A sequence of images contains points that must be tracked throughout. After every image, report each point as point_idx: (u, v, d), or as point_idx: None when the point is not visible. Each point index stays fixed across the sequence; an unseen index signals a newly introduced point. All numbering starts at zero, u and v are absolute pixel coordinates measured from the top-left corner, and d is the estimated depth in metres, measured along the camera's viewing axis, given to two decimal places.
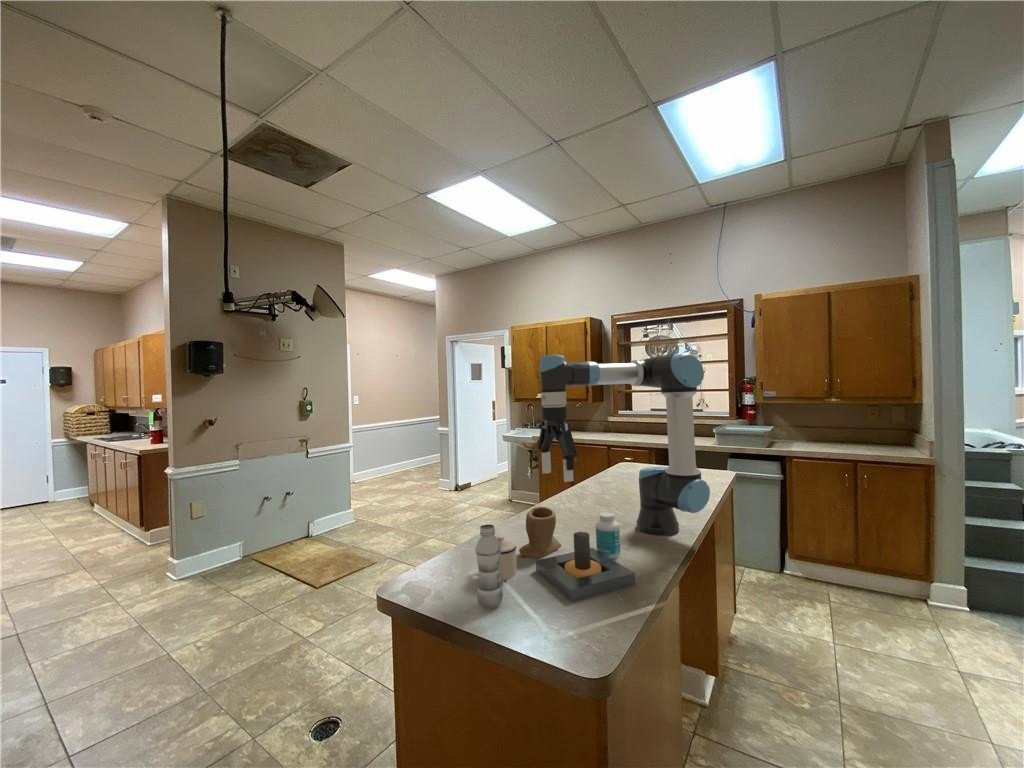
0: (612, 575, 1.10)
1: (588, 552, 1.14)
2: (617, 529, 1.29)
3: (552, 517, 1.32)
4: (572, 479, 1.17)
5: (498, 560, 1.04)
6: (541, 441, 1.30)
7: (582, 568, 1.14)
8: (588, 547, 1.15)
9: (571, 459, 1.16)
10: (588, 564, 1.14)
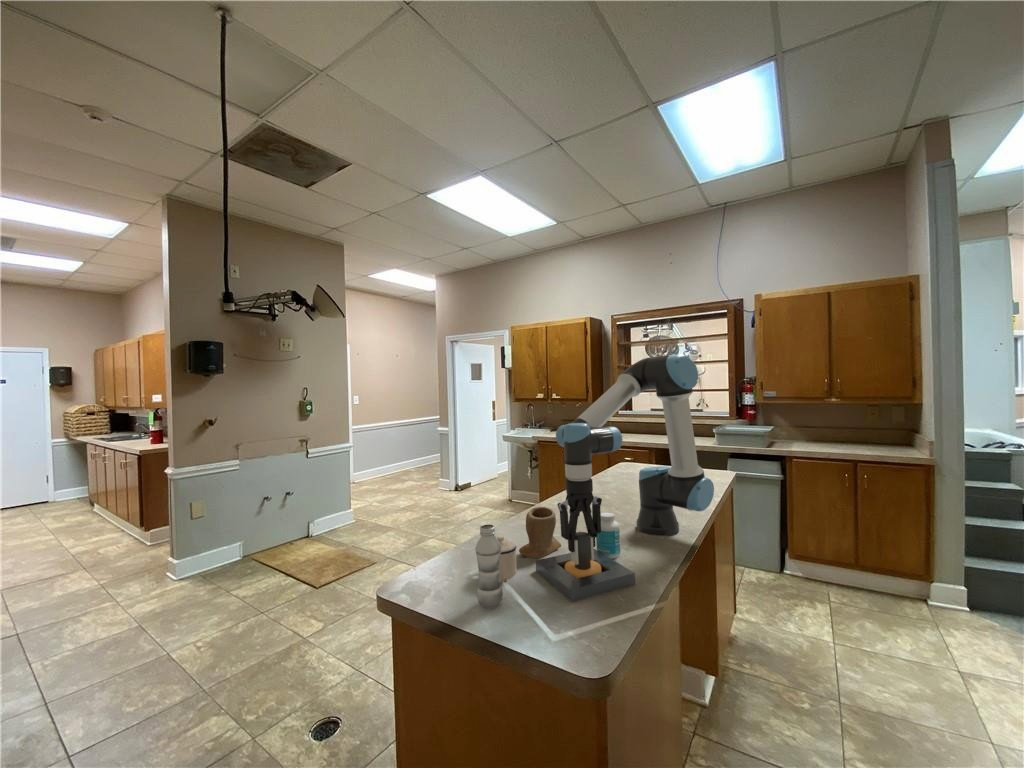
0: (612, 575, 1.10)
1: (588, 552, 1.14)
2: (617, 529, 1.29)
3: (552, 517, 1.32)
4: (575, 562, 1.14)
5: (498, 560, 1.04)
6: (593, 519, 1.19)
7: (582, 568, 1.14)
8: (588, 547, 1.15)
9: (569, 541, 1.14)
10: (588, 564, 1.14)
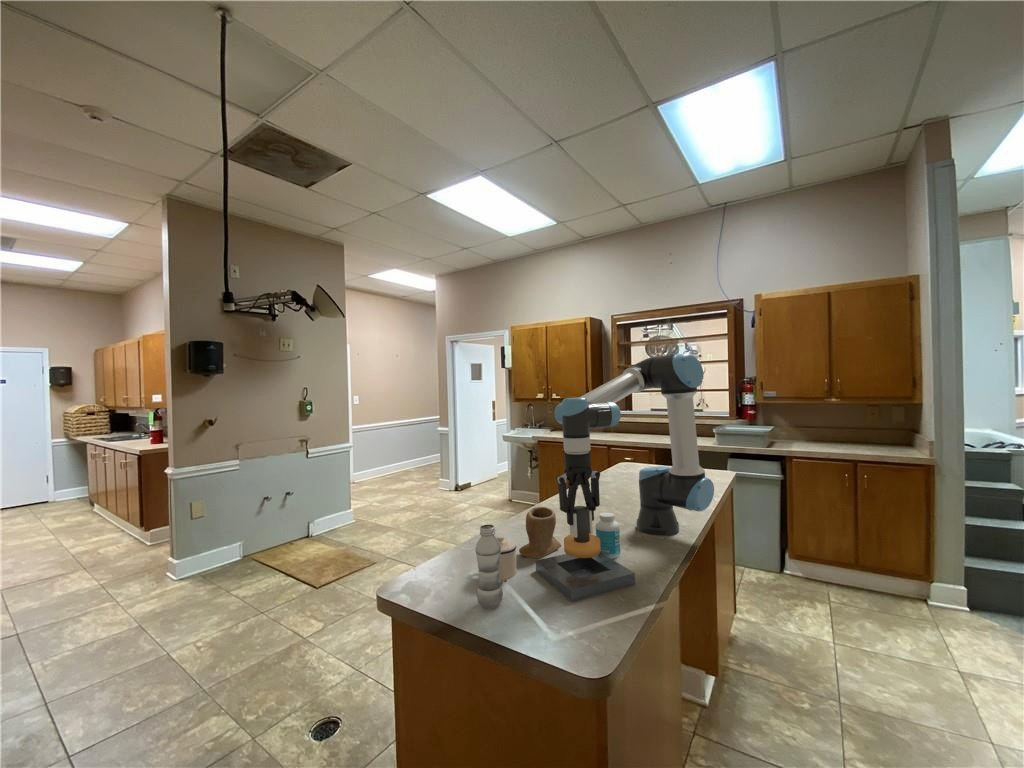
0: (612, 575, 1.10)
1: (587, 525, 1.15)
2: (617, 529, 1.29)
3: (552, 517, 1.32)
4: (574, 535, 1.14)
5: (498, 560, 1.04)
6: (591, 494, 1.19)
7: (581, 541, 1.14)
8: (587, 520, 1.15)
9: (568, 514, 1.15)
10: (587, 537, 1.15)
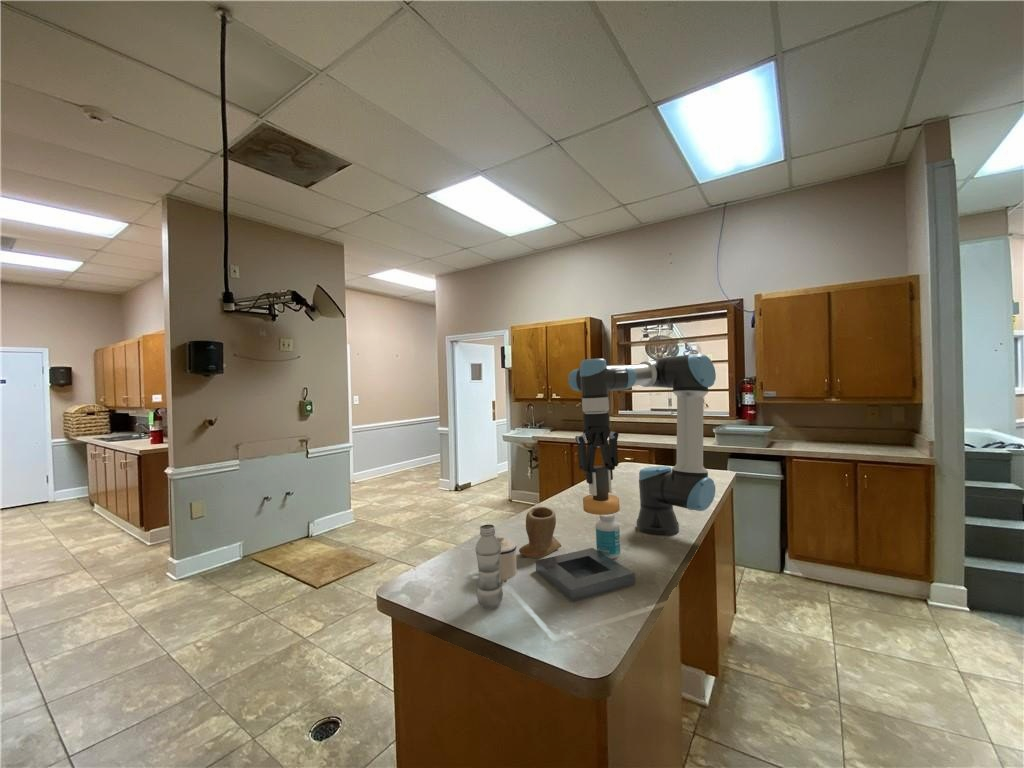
0: (612, 575, 1.10)
1: (606, 484, 1.17)
2: (617, 529, 1.29)
3: (552, 517, 1.32)
4: (593, 494, 1.16)
5: (498, 560, 1.04)
6: (610, 454, 1.21)
7: (600, 499, 1.16)
8: (606, 479, 1.17)
9: (587, 473, 1.16)
10: (606, 495, 1.17)
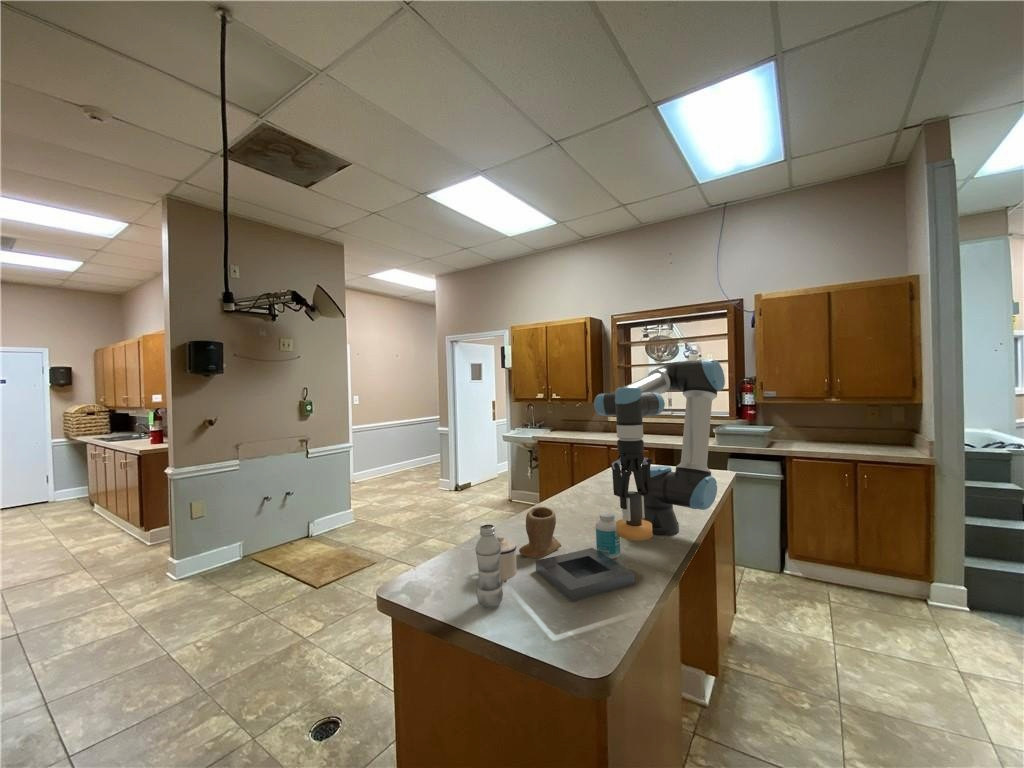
0: (612, 575, 1.10)
1: (640, 509, 1.19)
2: None
3: (552, 517, 1.32)
4: (627, 519, 1.19)
5: (498, 560, 1.04)
6: (642, 480, 1.24)
7: (634, 524, 1.19)
8: (640, 505, 1.19)
9: (621, 498, 1.19)
10: (640, 521, 1.19)
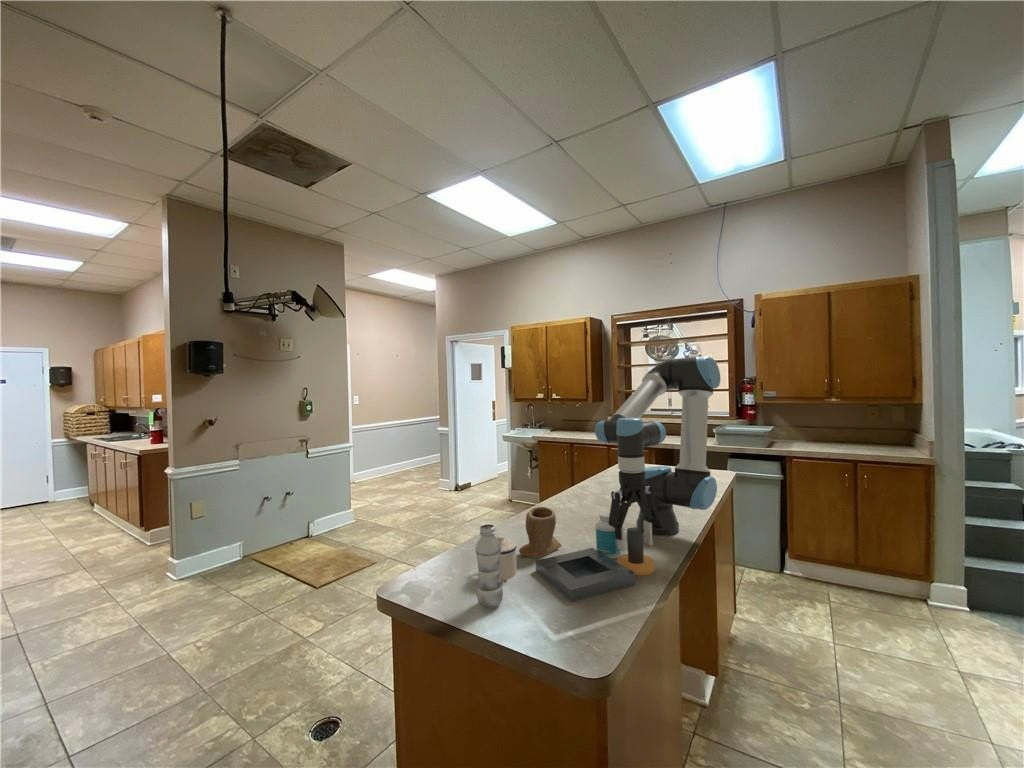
0: (612, 575, 1.10)
1: (642, 547, 1.19)
2: None
3: (552, 517, 1.32)
4: (622, 550, 1.18)
5: (498, 560, 1.04)
6: (648, 507, 1.24)
7: (636, 562, 1.19)
8: (642, 542, 1.19)
9: (616, 529, 1.18)
10: (642, 558, 1.19)
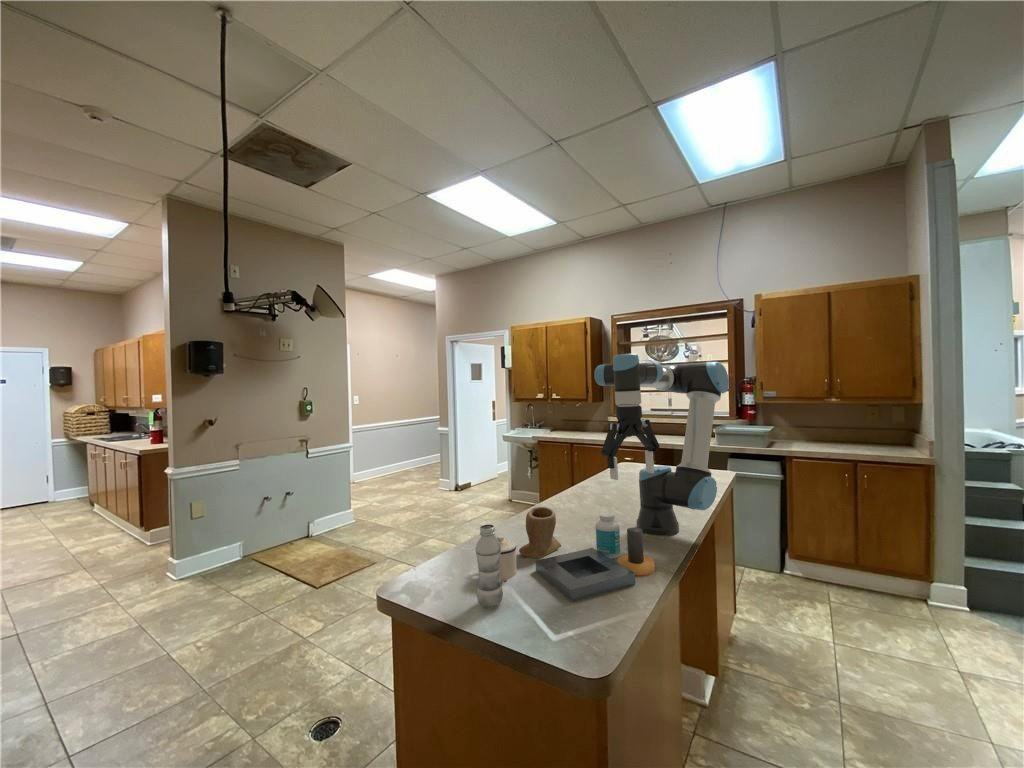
0: (612, 575, 1.10)
1: (642, 547, 1.19)
2: (617, 529, 1.29)
3: (552, 517, 1.32)
4: (615, 478, 1.20)
5: (498, 560, 1.04)
6: (648, 439, 1.27)
7: (636, 562, 1.19)
8: (642, 542, 1.19)
9: (609, 458, 1.20)
10: (642, 558, 1.19)
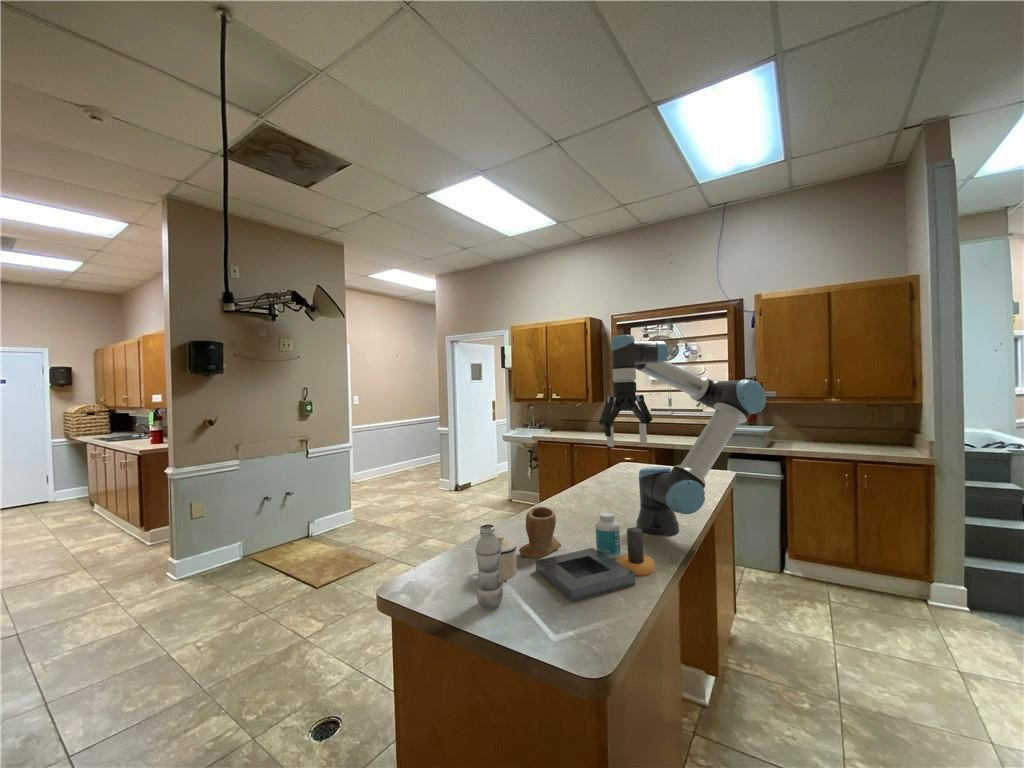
0: (612, 575, 1.10)
1: (642, 547, 1.19)
2: (617, 529, 1.29)
3: (552, 517, 1.32)
4: (611, 445, 1.34)
5: (498, 560, 1.04)
6: (642, 413, 1.42)
7: (636, 562, 1.19)
8: (642, 542, 1.19)
9: (606, 427, 1.35)
10: (642, 558, 1.19)
